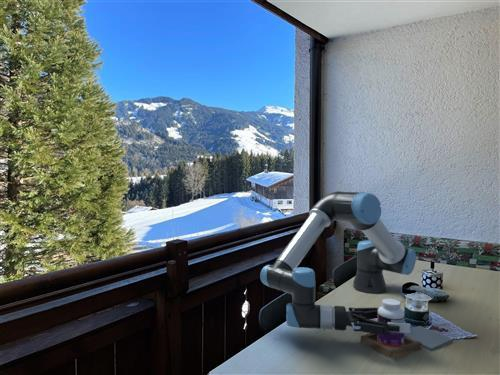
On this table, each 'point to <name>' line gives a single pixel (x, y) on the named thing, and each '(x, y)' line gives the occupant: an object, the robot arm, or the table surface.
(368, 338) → the walnut frame
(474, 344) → the table surface
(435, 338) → the slate coaster
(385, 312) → the pill bottle
